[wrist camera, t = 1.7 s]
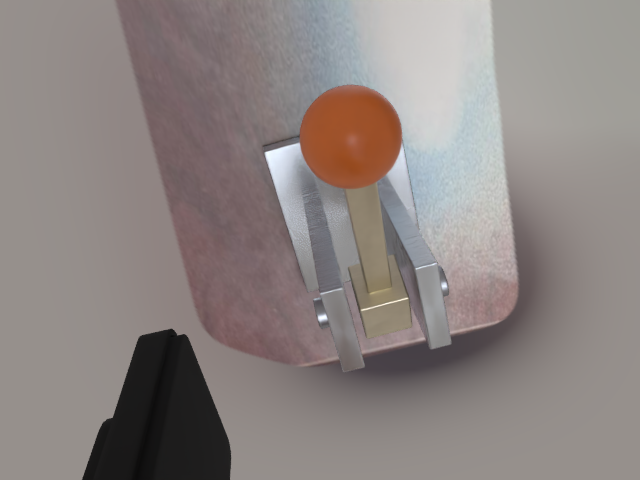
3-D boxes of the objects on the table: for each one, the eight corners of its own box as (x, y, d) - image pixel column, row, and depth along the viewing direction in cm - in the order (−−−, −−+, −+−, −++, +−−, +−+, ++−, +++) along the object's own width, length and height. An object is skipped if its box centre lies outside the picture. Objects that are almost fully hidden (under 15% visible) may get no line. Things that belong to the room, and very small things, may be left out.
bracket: (263, 146, 33) (264, 245, 21) (393, 109, 33) (465, 191, 21) (306, 283, 37) (326, 425, 26) (420, 252, 37) (491, 382, 26)
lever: (281, 79, 17) (299, 149, 15) (382, 51, 17) (412, 118, 15) (343, 292, 27) (358, 350, 25) (406, 276, 27) (425, 332, 25)
